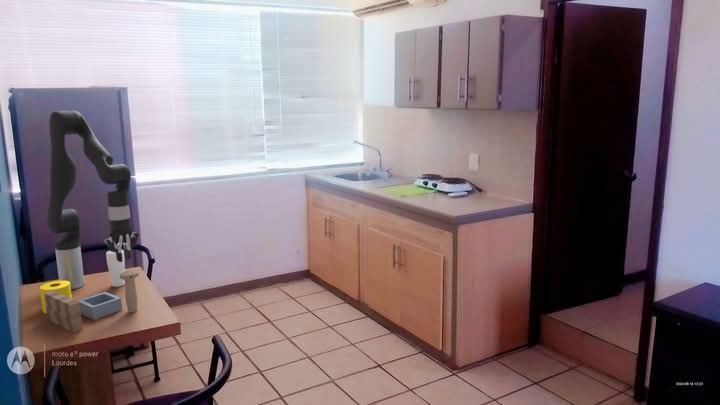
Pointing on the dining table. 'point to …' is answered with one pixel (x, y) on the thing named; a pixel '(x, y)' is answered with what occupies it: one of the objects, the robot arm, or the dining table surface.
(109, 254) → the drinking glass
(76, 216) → the robot arm
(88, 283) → the dining table surface
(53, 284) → the tape roll
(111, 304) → the box
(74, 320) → the block
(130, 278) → the handle
